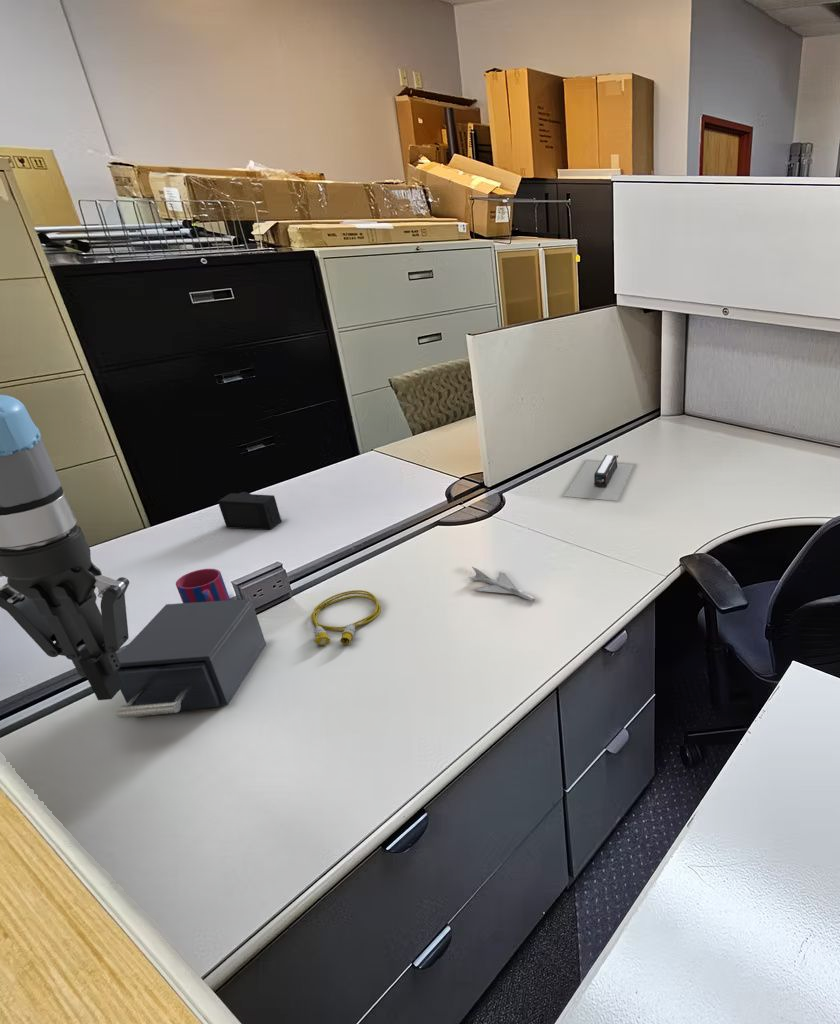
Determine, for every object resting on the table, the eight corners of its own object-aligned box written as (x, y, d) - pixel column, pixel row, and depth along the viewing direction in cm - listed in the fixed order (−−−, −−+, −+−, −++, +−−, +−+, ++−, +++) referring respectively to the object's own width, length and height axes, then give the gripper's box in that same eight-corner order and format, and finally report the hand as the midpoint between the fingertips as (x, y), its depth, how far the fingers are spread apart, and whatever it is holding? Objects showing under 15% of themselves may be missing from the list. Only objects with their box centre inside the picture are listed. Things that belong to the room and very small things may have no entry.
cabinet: (227, 704, 95) (208, 656, 90) (134, 713, 93) (110, 663, 88) (266, 644, 108) (251, 598, 103) (185, 650, 105) (166, 604, 101)
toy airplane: (521, 612, 119) (521, 602, 118) (445, 578, 128) (444, 569, 127) (548, 593, 125) (547, 583, 124) (473, 562, 134) (472, 553, 133)
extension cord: (281, 641, 108) (278, 632, 107) (339, 591, 122) (337, 583, 121) (345, 651, 107) (342, 642, 106) (396, 599, 121) (395, 591, 120)
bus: (633, 465, 186) (633, 452, 184) (617, 500, 164) (617, 486, 162) (586, 461, 187) (586, 448, 185) (564, 496, 165) (563, 481, 163)
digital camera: (285, 519, 147) (278, 492, 144) (271, 530, 142) (263, 502, 139) (242, 517, 147) (233, 490, 144) (226, 527, 142) (217, 500, 139)
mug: (228, 594, 120) (218, 564, 117) (236, 619, 113) (225, 589, 110) (186, 606, 116) (174, 575, 113) (190, 633, 109) (178, 601, 106)
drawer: (201, 731, 89) (184, 691, 85) (110, 740, 87) (89, 699, 83) (255, 648, 105) (242, 611, 101) (180, 654, 103) (164, 616, 99)
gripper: (121, 516, 74) (183, 668, 85) (-9, 521, 71) (72, 676, 82) (80, 548, 67) (152, 708, 78) (-65, 554, 65) (31, 719, 76)
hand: (111, 692), depth 80 cm, fingers closed
